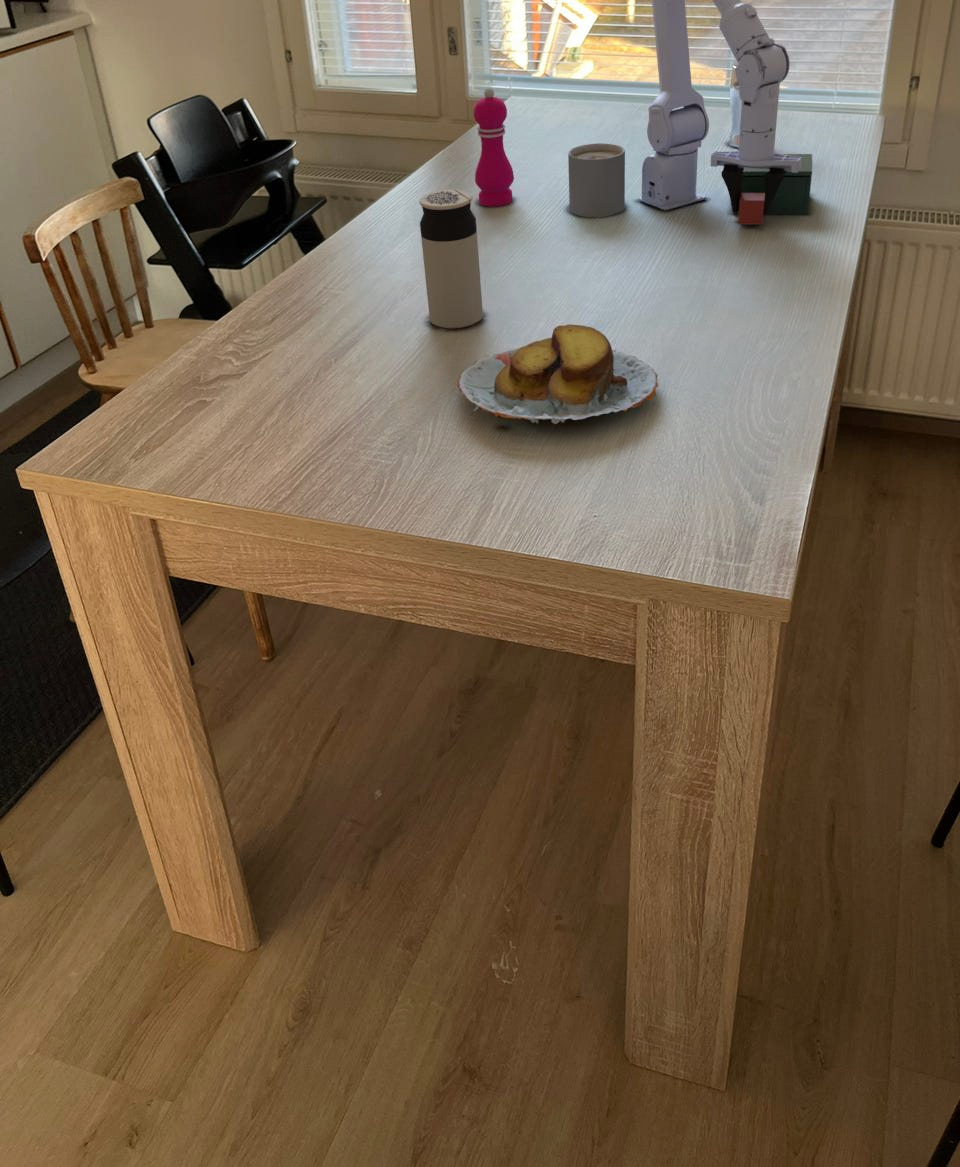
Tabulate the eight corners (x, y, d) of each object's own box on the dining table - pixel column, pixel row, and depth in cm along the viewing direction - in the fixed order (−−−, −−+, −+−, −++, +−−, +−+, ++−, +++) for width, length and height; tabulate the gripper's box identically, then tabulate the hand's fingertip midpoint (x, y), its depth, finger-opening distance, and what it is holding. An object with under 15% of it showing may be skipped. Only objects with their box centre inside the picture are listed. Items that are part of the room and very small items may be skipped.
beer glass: (764, 147, 226) (770, 67, 217) (729, 149, 226) (734, 70, 218) (758, 137, 232) (764, 59, 223) (724, 140, 232) (728, 62, 223)
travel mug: (437, 333, 164) (424, 210, 153) (424, 313, 170) (411, 194, 159) (489, 324, 165) (480, 201, 154) (475, 304, 171) (465, 185, 161)
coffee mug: (617, 218, 198) (617, 160, 192) (563, 216, 201) (561, 158, 195) (633, 194, 208) (634, 138, 202) (581, 192, 211) (580, 137, 205)
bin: (807, 214, 193) (811, 176, 189) (732, 214, 196) (735, 176, 192) (807, 194, 201) (811, 158, 197) (736, 194, 204) (738, 158, 200)
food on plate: (422, 395, 148) (417, 349, 144) (564, 338, 160) (563, 294, 156) (549, 464, 131) (548, 414, 127) (697, 394, 143) (699, 346, 139)
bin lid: (811, 175, 189) (812, 171, 188) (735, 175, 191) (735, 171, 191) (811, 158, 197) (812, 153, 197) (738, 158, 200) (738, 154, 200)
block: (762, 224, 188) (764, 200, 186) (738, 224, 189) (739, 200, 187) (763, 216, 191) (765, 192, 189) (739, 216, 192) (740, 192, 190)
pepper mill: (516, 194, 213) (510, 82, 201) (513, 206, 207) (507, 92, 195) (478, 196, 214) (470, 84, 202) (474, 208, 208) (466, 94, 196)
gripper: (809, 123, 181) (800, 208, 189) (721, 118, 187) (717, 200, 195) (797, 135, 176) (789, 221, 184) (708, 130, 182) (704, 213, 190)
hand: (751, 211), depth 189 cm, fingers closed on block, 5 cm apart
